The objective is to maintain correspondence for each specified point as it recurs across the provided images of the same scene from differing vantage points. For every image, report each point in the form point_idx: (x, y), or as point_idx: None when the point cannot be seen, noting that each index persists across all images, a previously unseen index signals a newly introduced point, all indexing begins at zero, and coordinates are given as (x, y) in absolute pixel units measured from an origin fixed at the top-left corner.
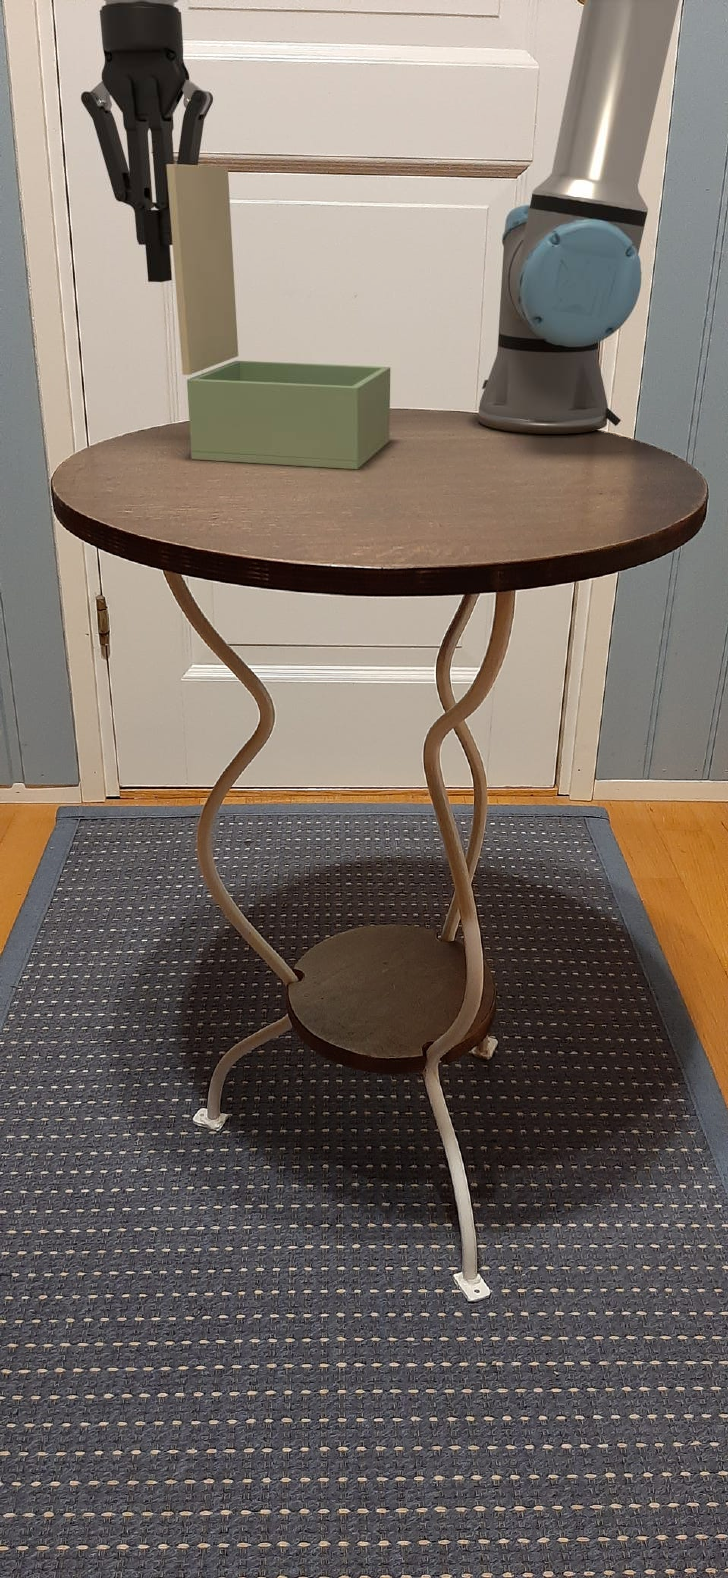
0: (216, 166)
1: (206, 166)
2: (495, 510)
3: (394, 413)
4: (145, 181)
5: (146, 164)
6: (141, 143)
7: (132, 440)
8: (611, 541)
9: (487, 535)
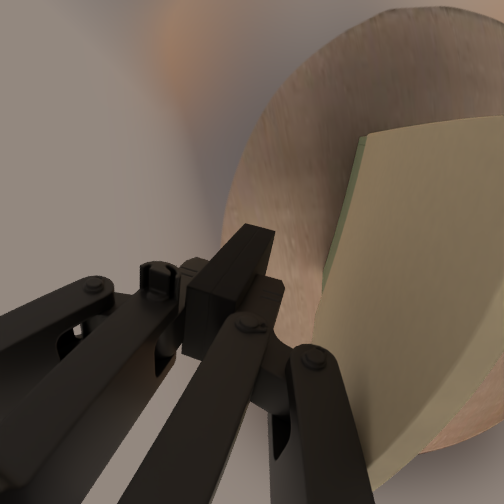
0: (493, 365)
1: (404, 464)
2: (487, 391)
3: (500, 41)
4: (144, 381)
5: (113, 411)
6: (79, 482)
7: (246, 180)
8: (498, 421)
9: (461, 423)
